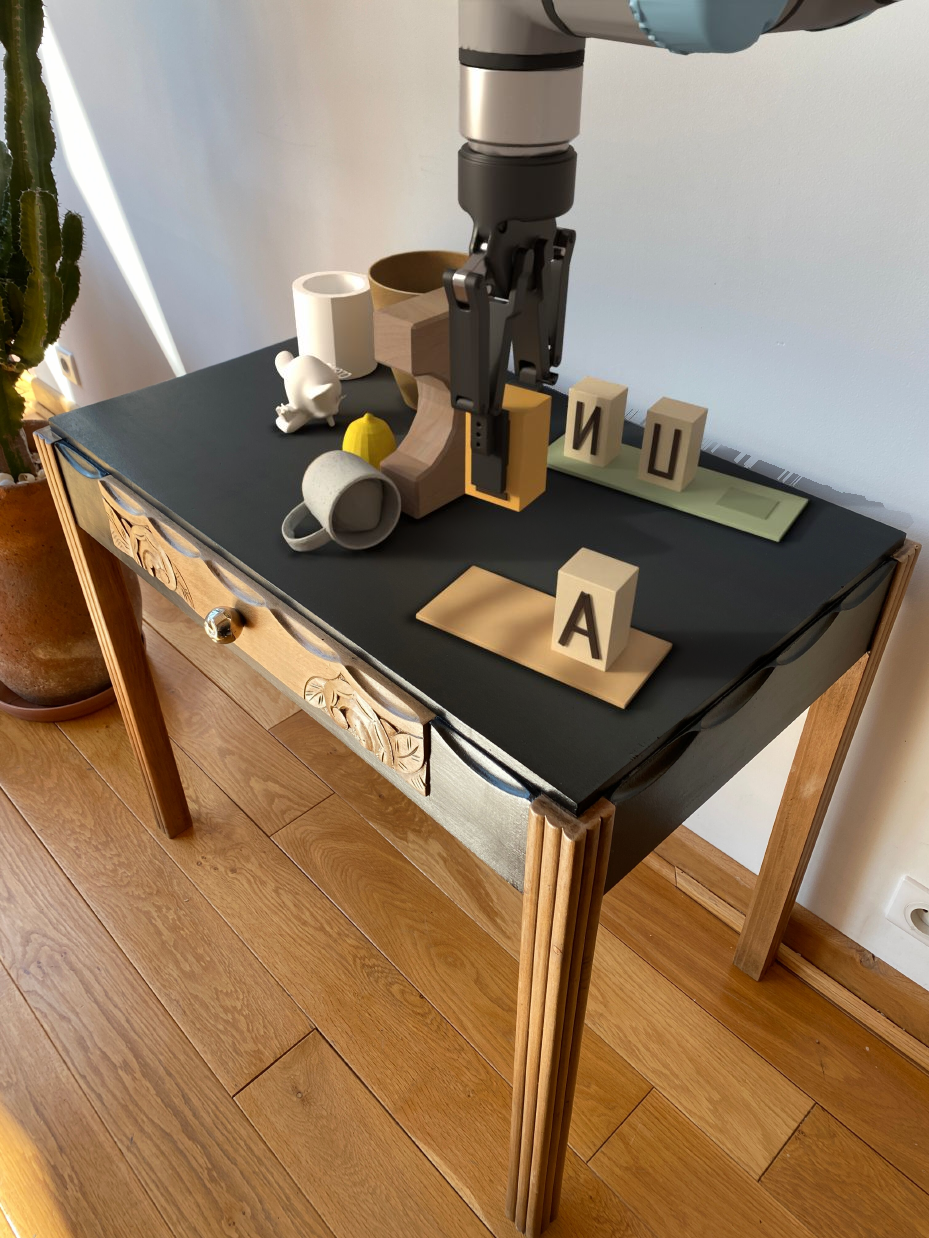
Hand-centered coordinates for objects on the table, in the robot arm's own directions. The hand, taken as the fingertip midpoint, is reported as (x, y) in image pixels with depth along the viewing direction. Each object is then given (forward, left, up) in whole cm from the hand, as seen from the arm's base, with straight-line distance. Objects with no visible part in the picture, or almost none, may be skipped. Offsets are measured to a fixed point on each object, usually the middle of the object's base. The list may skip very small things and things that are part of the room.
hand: (505, 473), depth 72 cm
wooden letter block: (+7, -30, -14) cm, 34 cm away
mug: (+47, -35, -14) cm, 60 cm away
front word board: (-4, 0, -14) cm, 15 cm away
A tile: (-9, 0, -14) cm, 16 cm away
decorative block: (+17, -14, -14) cm, 26 cm away
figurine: (+38, -19, -14) cm, 45 cm away
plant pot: (+30, -32, -14) cm, 46 cm away
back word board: (-2, -30, -14) cm, 33 cm away
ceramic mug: (+20, -2, -14) cm, 24 cm away
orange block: (0, 0, -2) cm, 2 cm away
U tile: (-2, -30, -14) cm, 33 cm away
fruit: (+24, -12, -14) cm, 30 cm away
